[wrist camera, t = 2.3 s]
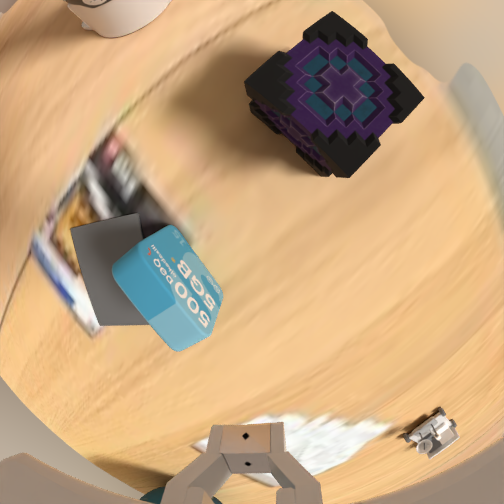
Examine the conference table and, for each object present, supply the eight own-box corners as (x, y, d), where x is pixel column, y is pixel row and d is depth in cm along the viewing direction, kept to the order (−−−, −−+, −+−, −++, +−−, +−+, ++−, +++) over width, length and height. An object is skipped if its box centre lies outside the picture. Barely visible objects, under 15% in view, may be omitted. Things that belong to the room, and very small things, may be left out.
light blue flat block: (225, 292, 38) (210, 341, 26) (200, 307, 38) (178, 358, 27) (173, 221, 35) (133, 244, 24) (149, 240, 36) (105, 269, 24)
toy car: (409, 459, 38) (452, 429, 35) (397, 430, 47) (436, 401, 44) (431, 468, 40) (466, 442, 38) (421, 444, 50) (453, 420, 47)
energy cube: (312, 55, 28) (332, 10, 17) (378, 117, 30) (424, 97, 18) (250, 112, 31) (244, 81, 19) (320, 176, 33) (349, 177, 21)
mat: (71, 228, 36) (70, 228, 36) (138, 212, 35) (137, 213, 34) (101, 324, 40) (99, 325, 40) (166, 322, 39) (165, 324, 39)
